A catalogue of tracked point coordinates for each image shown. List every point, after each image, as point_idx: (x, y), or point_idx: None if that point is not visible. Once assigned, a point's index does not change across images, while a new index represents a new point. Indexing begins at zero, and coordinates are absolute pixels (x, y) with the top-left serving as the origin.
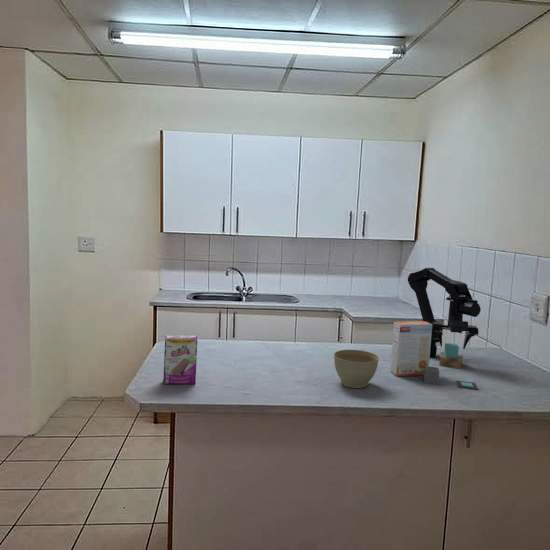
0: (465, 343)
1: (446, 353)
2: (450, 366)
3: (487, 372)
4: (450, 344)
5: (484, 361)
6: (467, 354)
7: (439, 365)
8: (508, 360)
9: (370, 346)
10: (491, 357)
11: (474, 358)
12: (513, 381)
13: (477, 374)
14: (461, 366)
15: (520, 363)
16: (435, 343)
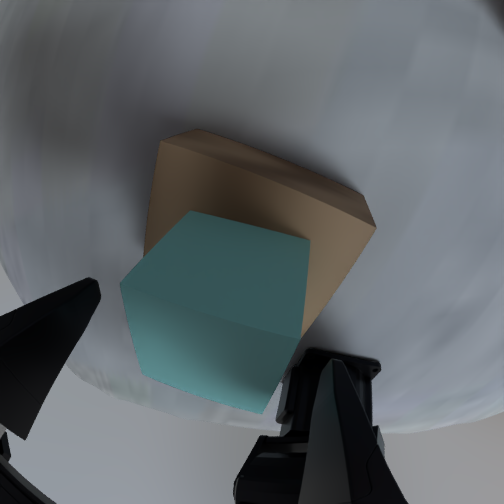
0: (39, 309)
1: (299, 261)
2: (278, 159)
3: (69, 107)
4: (214, 373)
5: None
6: (138, 364)
7: (361, 195)
8: (35, 296)
9: (480, 410)
10: None
11: (112, 326)
12: (27, 24)
13: (127, 34)
14: (191, 132)
15: (13, 268)
16: (294, 429)
